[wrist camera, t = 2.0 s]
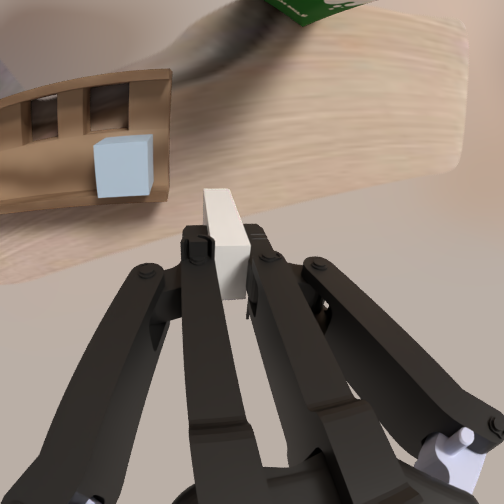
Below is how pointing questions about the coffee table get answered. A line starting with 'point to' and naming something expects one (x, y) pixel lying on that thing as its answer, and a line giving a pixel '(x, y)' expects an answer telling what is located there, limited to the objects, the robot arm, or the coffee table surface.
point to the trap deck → (78, 142)
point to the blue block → (124, 165)
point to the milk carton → (313, 8)
